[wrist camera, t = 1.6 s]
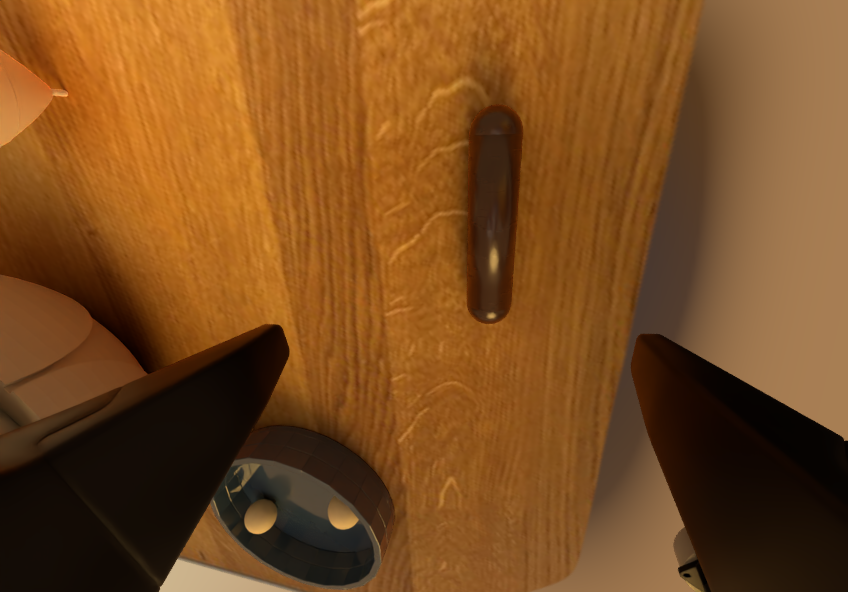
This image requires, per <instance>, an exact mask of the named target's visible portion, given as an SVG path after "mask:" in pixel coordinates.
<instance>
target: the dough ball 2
mask: <svg viewBox="0 0 848 592" xmlns="http://www.w3.org/2000/svg"><path fill="white" fill-rule="evenodd" d="M328 517H329V520H330V522H331V524H332V525H333V526H334V527H336V528H338V529H349V528H351V527H353V526H354V525H355V524H356V523H357V522H358V520H359V519H358V518H357V517H356V516H355V515H354V513H353V512H352V511H351V510H350V509H349V508H348V507H347V506H346V505H345V504H344V503H343V502H341V501H340V500H339V499H338V498H336V497H335V496H334V497H333V498H332V500H331V501H330V504H329V507H328Z"/></svg>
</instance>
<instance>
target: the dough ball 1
mask: <svg viewBox="0 0 848 592" xmlns="http://www.w3.org/2000/svg"><path fill="white" fill-rule="evenodd" d="M276 517H277V508H276V506H275V504H274V503H273V502H272V501H271V500H268V499H260V500H258V501H256V502H254V503H253V504H252V505H251V506H250V507H249V508H248V510H247V511H246V514H245V518H244V523H245V526H246V528H247V530H248V531H249V532H251V533H253V534H261V533H264V532H266V531H267V530H269V529H270V528H271V527H272V526H273V524H274V522H275V520H276Z"/></svg>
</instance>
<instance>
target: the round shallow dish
mask: <svg viewBox="0 0 848 592" xmlns="http://www.w3.org/2000/svg"><path fill="white" fill-rule="evenodd" d="M334 496H335V497H336V498H338V499H339V500H340V501H341V502H343V503H344V504H345V505H346V506H347V507H348V508H349V509H350V510H351V511H352V512H353V513H354V515H355V516H356V517H357V518H358V519H359V520H358V522H357V523H356V524H355V525H354V526H353V527H351V528H349V529H338V528H336V527H334V526H333V525H332V524H331V522H330V520H329V517H328V507H329V504H330V501H331V500H332V498H333V497H334ZM260 499H268V500H271V501H272V502H273V503H274V504H275V506H276V508H277V517H276V520H275V522H274V524H273V526H272V527H271V528H270V529H269V530H267V531H266V532H264V533H261V534H253V533H251V532H249V531H248V530H247V528H246V526H245V523H244V518H245V514H246V511H247V510H248V508H249V507H250V506H251V505H252V504H253V503H254V502H256V501H258V500H260ZM210 504H211V507H212V509H213V512H214V515H215V516H216V518H217V519H218V521H219V522H220V524H221V525H222V527H223V528H224V529H225V531H226V532H227V533H228V534H229V535H230V536H231V537H232V538H233V539H234V540H235V541H236V543H237V544H238V545H239V546H240V547H241V548H243V549H244V550H245V551H246V552H248V553H249V554H250V555H251V556H253V557H254V558H255V559H257V560H258V561H259V562H261V563H262V564H264V565H266V566H267V567H269V568H271V569H273V570H274V571H276V572H278V573H280V574H281V575H284V576H286V577H289V578H291V579H294V580H296V581H299V582H301V583H303V584H304V583H305V584H307V585H311V586H316V587H320V588H324V589H339V590H348V589H352V588H356V587H361V586H364V585H365V584H366V583H368V582H369V581H370V580H372V579H373V578H375V577H376V575H377V572H378V570H379V568H380V566H381V563H382V560H383V557H384V554H385V551H386V548H387V545H388V542H389V539H390V536H391V533H392V530H393V525H394V518H395V516H394V507H393V503H392V500H391V497H390V495H389V493H388V491H387V489H386V487H385V486H384V484H383V482H382V481H381V480H380V478H379V477H378V476H377V474H376V473H375V472H374V471H373V470H372V469H371V468H370V467H369V466H368V465H367V464H366V463H365V462H364V461H363V460H362V459H361V458H360V457H358V456H357V455H356V454H354V453H353V452H352V451H350V450H349V449H347V448H346V447H344V446H342V445H341V444H339V443H338V442H336V441H334V440H332V439H330V438H328V437H326V436H323V435H321V434H318V433H316V432H312V431H309V430H306V429H302V428H297V427H290V426H270V427H264V428H261V429H258V430H255V431H254V432H252V433H250V435H249V436H248V438H247V440H246V442H245V443H244V445H243V447H242V448H241V450H240V452H239V454H238V455H237V457H236V459H235V461H234V462H233V464H232V466H231V467H230V469H229V471H228V473H227V474H226V476H225V478H224V479H223V481H222V483H221V485H220V486H219V488H218V490H217V492H216V493H215V495H214V497H213V498H212V500H211V502H210Z"/></svg>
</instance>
